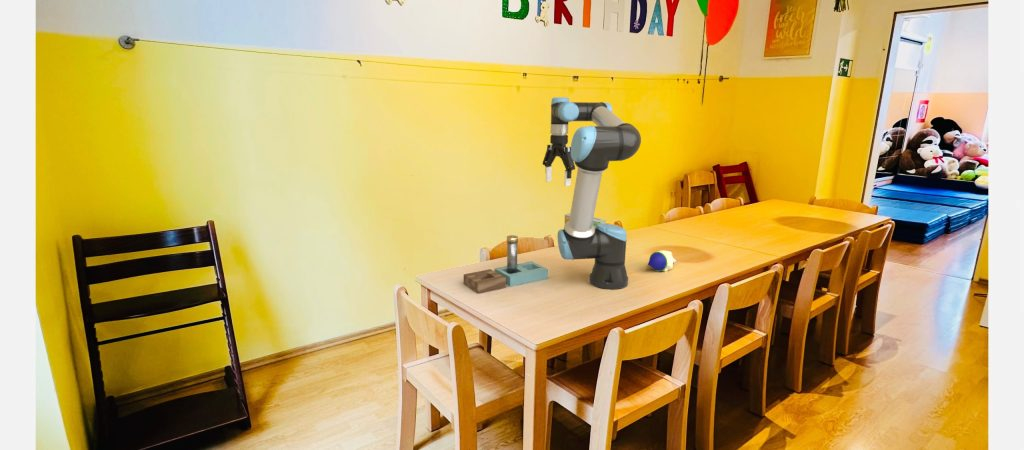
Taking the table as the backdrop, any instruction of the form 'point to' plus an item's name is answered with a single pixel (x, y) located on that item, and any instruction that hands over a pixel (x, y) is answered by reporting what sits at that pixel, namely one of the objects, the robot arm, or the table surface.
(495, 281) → the socket block
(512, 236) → the grey metal cylinder
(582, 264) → the table surface
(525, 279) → the block
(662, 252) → the cartoon head
